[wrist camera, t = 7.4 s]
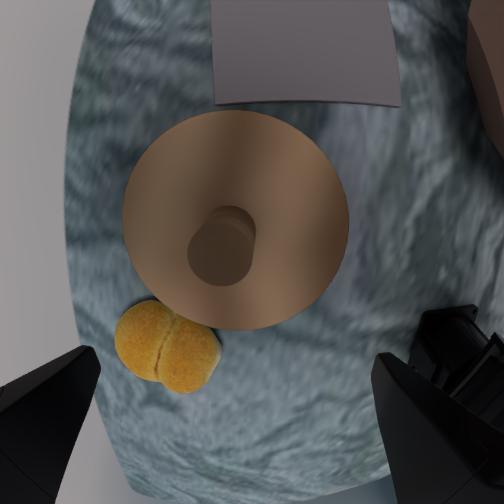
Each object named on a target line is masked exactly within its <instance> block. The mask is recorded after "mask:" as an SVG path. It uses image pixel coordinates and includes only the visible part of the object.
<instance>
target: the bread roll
mask: <svg viewBox="0 0 504 504" xmlns="http://www.w3.org/2000/svg"><path fill="white" fill-rule="evenodd" d="M114 340H115V347H116V351H117V353H118V355H119V357H120V359H121V360H122V362H123V363H124V364H125V365H126V366H127V367H128V368H129V369H130V370H131V371H132V372H133V373H134V374H135V375H137V376H138V377H139V378H142V379H145V380H148V381H158V382H162V384H163V385H164V386H165V387H167V388H168V389H170V390H172V391H174V392H177V393H190V392H194V391H196V390H198V389H199V388H201V387H202V386H203V385H204V384H206V383H207V382H208V381H209V378H210V376H211V375H212V373H213V371H214V369H215V368H216V366H217V363H218V361H219V360H220V357H221V354H222V350H223V349H222V346H221V344H220V342H219V341H218V339H217V338H216V336H215V335H214V333H213V332H212V330H211V329H210V328H209V327H208V326H205V325H201V324H198V323H196V322H194V321H191V320H189V319H187V318H185V317H183V316H181V315H179V314H177V313H176V312H174V311H173V310H171V309H170V308H169V307H167V306H166V305H164V304H163V303H162V302H159V301H156V300H147V301H143V302H141V303H138V304H136V305H134V306H133V307H131V308H129V309H128V310H127V311H126V312H125V313H124V314H123V315H122V316H121V317H120V319H119V321H118V323H117V326H116V330H115V337H114Z"/></svg>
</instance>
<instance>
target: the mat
mask: <svg viewBox="0 0 504 504" xmlns="http://www.w3.org/2000/svg"><path fill="white" fill-rule="evenodd" d="M211 31H212V57H213V80H214V99H215V105H216V106H222V105H233V104H247V103H267V102H331V103H351V104H364V105H376V106H385V107H394V108H399V107H402V102H401V89H400V78H399V69H398V61H397V53H396V46H395V40H394V34H393V28H392V23H391V17H390V12H389V8H388V3H387V0H211Z"/></svg>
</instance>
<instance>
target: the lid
mask: <svg viewBox="0 0 504 504" xmlns="http://www.w3.org/2000/svg"><path fill="white" fill-rule="evenodd" d="M122 228H123V236H124V241H125V245H126V249H127V252H128V254H129V257H130V260H131V262H132V264H133V266H134V268H135V270H136V272H137V274H138V275H139V277H140V278H141V280H142V281H143V283H144V284H145V285H146V287H147V288H148V289H149V290H150V291H151V292H152V293H153V295H154V296H155V297H157V298H158V299H159V300H160V301H161V302H162V303H163V304H164V305H166V306H167V307H169V308H170V309H171V310H173V311H174V312H176V313H177V314H179V315H181V316H183V317H185V318H187V319H189V320H191V321H194V322H196V323H198V324H201V325H205V326H208V327H212V328H218V329H224V330H238V331H239V330H253V329H259V328H265V327H268V326H272V325H275V324H278V323H280V322H283V321H285V320H287V319H290V318H291V317H293V316H295V315H297V314H298V313H300V312H302V311H303V310H304V309H306V308H307V307H308V306H310V305H311V304H312V303H313V302H314V301H315V300H316V299H317V298H318V297H319V296H320V295H321V294H322V293H323V292H324V291H325V289H326V288H327V287H328V286H329V284H330V283H331V281H332V280H333V278H334V276H335V275H336V273H337V271H338V269H339V267H340V264H341V262H342V259H343V257H344V253H345V249H346V245H347V240H348V232H349V213H348V207H347V201H346V196H345V193H344V190H343V187H342V184H341V181H340V179H339V177H338V175H337V173H336V171H335V169H334V167H333V166H332V164H331V163H330V161H329V160H328V158H327V157H326V155H325V154H324V153H323V152H322V151H321V150H320V149H319V147H318V146H317V145H316V144H315V143H314V142H313V141H312V140H310V139H309V138H308V137H307V136H306V135H304V134H303V133H302V132H301V131H299V130H297V129H296V128H294V127H292V126H291V125H289V124H288V123H285V122H283V121H281V120H279V119H276V118H274V117H272V116H268V115H264V114H261V113H257V112H251V111H243V110H221V111H215V112H209V113H204V114H201V115H198V116H195V117H191V118H189V119H187V120H185V121H183V122H181V123H179V124H177V125H175V126H173V127H172V128H170V129H169V130H167V131H166V132H164V133H163V134H162V135H161V136H160V137H159V138H157V139H156V140H155V141H154V142H153V143H152V144H151V145H150V146H149V147H148V149H147V150H146V151H145V152H144V153H143V155H142V156H141V158H140V159H139V161H138V162H137V164H136V166H135V167H134V169H133V172H132V174H131V176H130V178H129V181H128V184H127V187H126V191H125V194H124V200H123V207H122Z"/></svg>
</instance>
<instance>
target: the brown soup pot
mask: <svg viewBox="0 0 504 504" xmlns="http://www.w3.org/2000/svg"><path fill="white" fill-rule="evenodd" d="M465 64H466V67H467V70H468V73H469V76H470V79H471V82H472V85H473V88H474V92H475V95H476V99H477V102H478V106H479V110H480V114H481V118H482V122H483V127H484V130H485V132H486V133H487V135H488V136H489V138H490V139H491V141H492V142H493V144H494V145H495V147H496V148H497V150H498V151H499V153H500V155H501V156H502V158H503V159H504V0H472V1H471V4H470V8H469V11H468V28H467V50H466V63H465Z"/></svg>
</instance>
